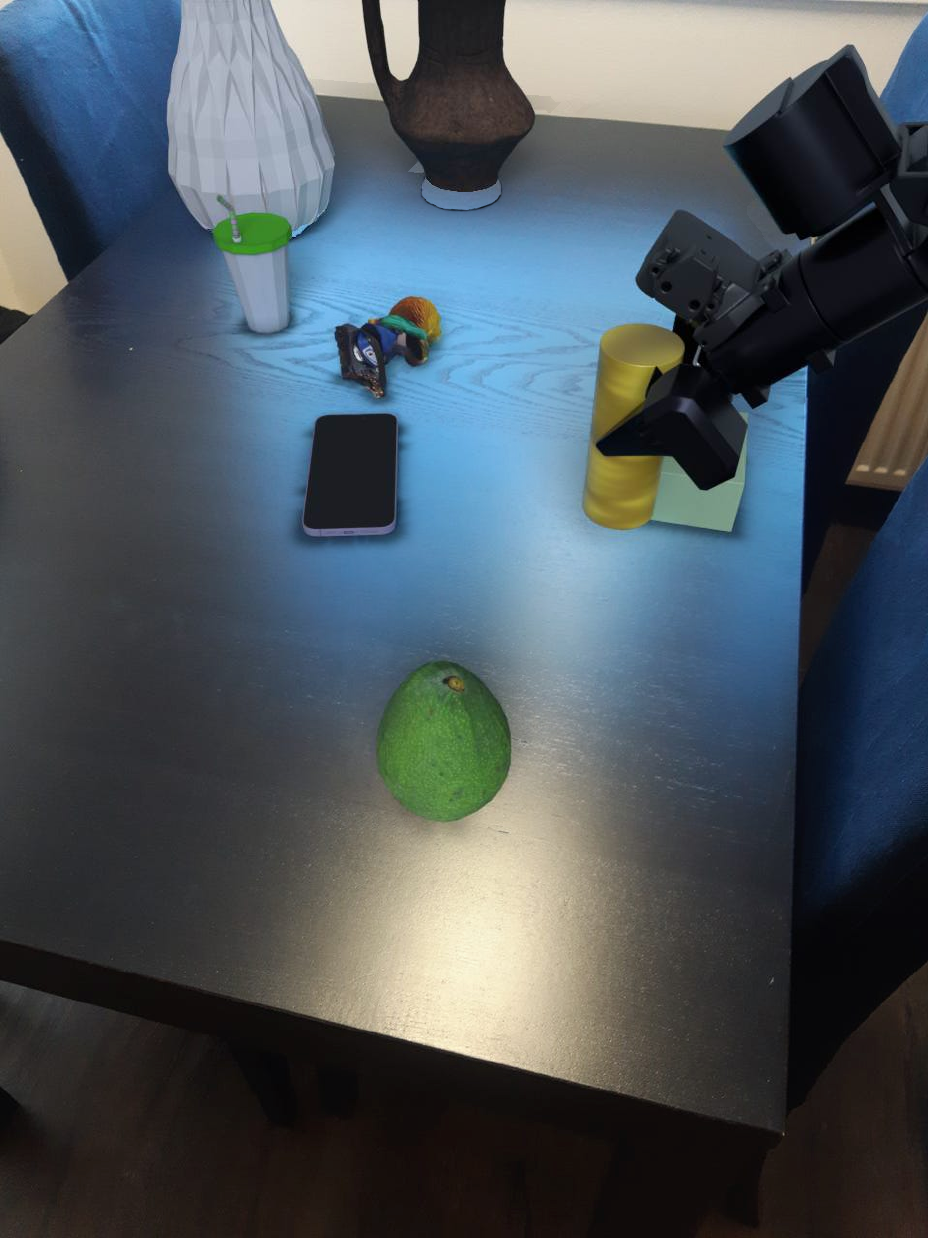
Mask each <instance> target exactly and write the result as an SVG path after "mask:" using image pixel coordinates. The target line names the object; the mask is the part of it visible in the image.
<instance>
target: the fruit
mask: <svg viewBox="0 0 928 1238" xmlns="http://www.w3.org/2000/svg"><path fill="white" fill-rule="evenodd" d="M396 688H397V689H395V691H394V692H393V693H392V695H391V697H390V698H389V699H388V702H387V704H386V706H385V707H384V710H383V713H382V716H381V718H380V721H379V724H378V727H377V733H376V737H375V738H376V739H375V745H376V746H375V749H376V750H375V754H376V761H377V762H376V763H377V767H378V773H379V775H380V777H381V778H382V781H383V782H384V785H385V786H386V788H387V789H388V791H389V793H390V794H391V796H392V797H393V799H394V800H395V801H396V802H398V804H399V805H400V806H401V807H403V808H404V809H405V810H406V811H408V812H410V813H412V814H414V815H416V816H418V817H420V818H422V819H424V820H427V821H433V822H440V823H447V822H448V823H449V822H455V821H459V820H462V819H464V818H466V817H468V816H470V815H472V814H475V813H476V812H479V811H480V810H482V808H484V807H485V806H487V805H488V804H489V803H491V802H492V801H493V800H494V798H495V797H496V795H497V794H498V793H499V792H500V790H501V789H502V788H503V785H504V783H506V780H507V778H508V776H509V771H510V769H511V765H512V736H511V735H512V734H511V729H510V725H509V720H508V717H507V715H506V713H505V711H504V709H503V707H502V705H501V703H500V701H499V700H498V699H497V697H495V695H494V694H493V693H492V691H491V690H490V689H489V687H488V686H487V685H486V684H485V682H484V681H483V680H482V679H481V678H480V677H478V675H476V674H475V673H474V672H472V671H470V670H469V669H467V668H465V667H464V666H462V665H461V664H459V663H458V662H454V661H449V660H436V661H430V662H424V663H423V664H421V665H420V666H418V667H416V668H415V669H413V670H412V671H411V672H410V673H409V674H408V675H407V677H405V679H404V680H403V681H402V682H401V683H400V685H399V686H398V687H396Z"/></svg>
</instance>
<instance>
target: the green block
mask: <svg viewBox="0 0 928 1238" xmlns="http://www.w3.org/2000/svg"><path fill="white" fill-rule="evenodd" d="M738 412H739V414H740V415H741V416H742V418H743V419H744V420H745V422H746V423H747V424H748V425H749V413H748V412H743V411H738ZM748 428H749V427H747V431H746V435H745V439H744V443H743V447H742V451H741V456H740V460H739V463H738V467H737V471H736V475H735V477H734V478H732V479H730V480H728V481H726V482H724V483H722V484H720V485H718V486H716V487H714V488H712V489H710V490H708V491H705V490H699V488H698V487H697V486H696V485H695V484H694V482H693V481H692V480H691V479H690V478H689V476H688V475H687V474H686V473H685V471H684V470H683V469H682V468H681V467H680V465H679V464H678V463H677V462H676V460H675V459H674V458H673V457H669V456H664V461H663V466H662V472H661V477H660V482H659V487H658V493H657V498H656V503H655V508H654V513H653V515H652V517H651V519H650V520H649V521H654V522H662V523H669V524H674V525H682V526H689V527H695V528H701V529H708V530H715V531H722V532H727V533H731V532H732V531H733V527H734V524H735V520H736V517H737V513H738V510H739V507H740V503H741V499H742V495H743V493H744V489H745V485H746V470H747V469H746V468H747V447H748Z"/></svg>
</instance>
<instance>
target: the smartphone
mask: <svg viewBox="0 0 928 1238" xmlns="http://www.w3.org/2000/svg"><path fill="white" fill-rule="evenodd" d="M313 424H314V425H313V431H312V440H311V447H310V456H309V462H308V471H307V480H306V486H305V487H306V488H305V494H304V501H303V502H304V503H303V511H302V516H301V517H302V518H301V523H302V529H303V532H304V533H305V534H306V535H308V536H311V537H349V536H350V537H352V536H382V535H388V534H390V533H392V532H393V531H394V530H395V529H396V527H397V515H398V513H397V512H398V511H397V509H398V469H399V467H398V463H399V461H398V460H399V419H398V417H397V416H396V415H395V414H393V413H389V412H378V413H376V412H374V413H338V414H337V413H336V414H335V413H334V414H324V415H320V416H319V417H317V418H316V419H315V421H314V423H313Z"/></svg>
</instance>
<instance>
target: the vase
mask: <svg viewBox="0 0 928 1238" xmlns="http://www.w3.org/2000/svg"><path fill="white" fill-rule="evenodd" d="M180 2H181V3H180V4H181V5H180V7H181V8H180V9H181V21H180V31H179V39H178V45H177V52H176V56H175V58H174V61H173V64H172V68H171V75H170V87H169V93H168V98H167V104H166V126H167V134H168V154H167V155H168V157H167V159H168V161H167V163H168V164H167V165H168V166H167V167H168V170H167V172H168V174H169V176H170V179H171V180H172V183H173V184H174V186H175V189H176V190H177V192H178V194H179V196H180V199H181V200H182V202H183V203H184V205H185V206H186V208H187V210H188V211H189V213H190V214H191V215H192V217H194V219H195V220H196V221H197V223H198V224H199V225H200V226H201V227H202V228H203V229H205V230H207V229H213V230H214V228H215V227H216V226H217V224H218V223H219V222H221V221H223V220H225V219H228V218H230V214H229V211H228V209H227V208H225V207H224V206H223V205H222V204H221V203H219V202H218V201H217V196H218V195H220V196H222V197H223V198H224V199H225V200H226V201H227V202H228V203H229V204H231V205H232V206H233V208H234V210H235V215H241V214H247V213H272V214H275V215H278V216H281V217H284V218H286V219H287V221H288V222H289V224H290V225H291V229H292V232H293V231H296V230H298V228H299V227H300V226H302V225H305V224H308V223H310V224H312V223H313V222H314V221H315V222H317V220H318V219H317V215H318V214H320V213H321V212H324V213H325V211H326V210H325V209H327V207H328V205H329V201H330V196H331V190H332V185H333V184H332V183H333V178H334V171H335V164H336V163H335V157H336V156H335V154H336V153H335V150H334V148H333V144H332V142H331V139H330V136H329V133H328V131H327V129H326V126H325V124H324V123H325V122H324V118H323V114H322V110H321V104H320V102H319V100H318V97H317V94H316V92H315V88H314V87H313V85H312V84H311V82H310V80H309V79H308V77H307V74H306V71H305V69H304V68H303V65H302V63H301V61H300V58H298V55H297V53H296V52H295V51H294V50H293V48H292V47H291V46H290V44H289V43H288V41H287V37H286V36H285V34H284V32H283V29H282V27H281V25H280V23H279V20H278V17H277V15H276V13H275V10H274V7H273V5H272V2H271V0H181V1H180Z"/></svg>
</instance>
